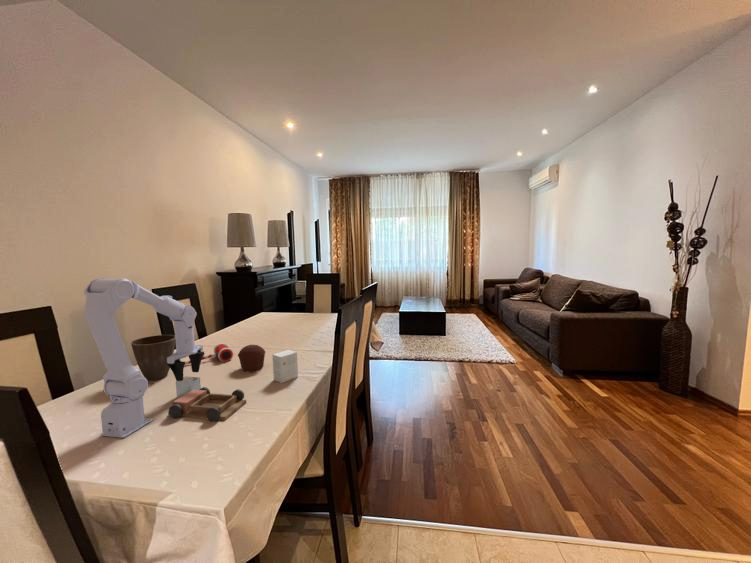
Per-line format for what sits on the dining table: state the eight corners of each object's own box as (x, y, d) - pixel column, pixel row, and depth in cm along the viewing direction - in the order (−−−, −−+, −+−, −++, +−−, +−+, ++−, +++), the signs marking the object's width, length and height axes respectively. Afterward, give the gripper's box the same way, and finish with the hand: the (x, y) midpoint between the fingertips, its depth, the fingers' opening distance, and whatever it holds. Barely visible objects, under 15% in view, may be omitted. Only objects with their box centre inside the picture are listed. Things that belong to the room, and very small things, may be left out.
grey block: (191, 398, 111) (190, 382, 111) (176, 397, 112) (175, 381, 112) (201, 393, 116) (199, 377, 115) (186, 392, 117) (185, 376, 116)
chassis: (222, 422, 95) (222, 409, 95) (165, 417, 99) (163, 405, 99) (248, 401, 109) (247, 389, 108) (196, 397, 112) (195, 386, 112)
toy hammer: (177, 372, 138) (176, 357, 137) (174, 364, 147) (173, 351, 146) (233, 360, 151) (233, 347, 151) (228, 354, 161) (227, 342, 160)
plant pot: (161, 368, 141) (158, 333, 139) (186, 372, 136) (183, 336, 134) (125, 382, 127) (121, 342, 125) (152, 386, 122) (148, 346, 120)
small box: (290, 373, 133) (289, 349, 132) (298, 377, 129) (297, 351, 128) (273, 380, 127) (271, 354, 126) (281, 383, 123) (280, 357, 122)
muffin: (271, 365, 142) (270, 344, 141) (252, 374, 133) (250, 351, 132) (253, 362, 148) (252, 341, 147) (232, 370, 138) (231, 347, 137)
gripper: (178, 345, 104) (182, 385, 106) (209, 333, 119) (211, 369, 120) (160, 344, 106) (163, 384, 107) (192, 333, 120) (195, 368, 121)
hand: (187, 376), depth 113 cm, fingers open, 7 cm apart
